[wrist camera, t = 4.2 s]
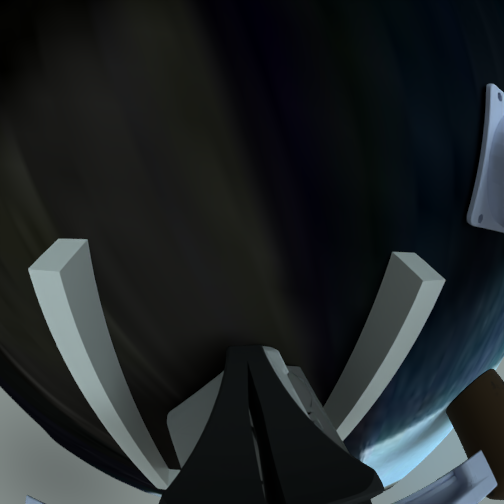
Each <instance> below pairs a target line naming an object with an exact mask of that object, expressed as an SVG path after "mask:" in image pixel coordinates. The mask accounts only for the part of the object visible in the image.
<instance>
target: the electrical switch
mask: <svg viewBox="0 0 504 504" xmlns="http://www.w3.org/2000/svg"><path fill="white" fill-rule="evenodd" d="M262 347H263V349H264V351H265V354H266V356H267V358H268V360H269V362H270V364H271V366H272V367H273V369H274V371H275V373H276V374H277V376H278V378H279V379H280V381H281V382H282V384H283V385H284V387H285V388H286V390H287V391H288V392H289V394H290V395H291V397H292V398H293V399H294V400H295V402H296V403H297V404H298V406H299V407H300V408H301V409H302V410H303V412H304V413H305V414H306V415H307V416H308V417H309V418H310V419H311V420H312V421H314V423H315V424H316V425H317V427H318V428H319V429H320V430H321V431H322V432H324V433H325V434H326V435H327V436H328V437H329V438H330V439H332V440H333V441H334V442H335V443H336V444H337V445H339V446H340V447H341V448H342V449H344V450H345V451H346V452H348V450H347V448H346V447H345V445H344V443H343V442H342V440H341V438H340V436H339V435H338V433H337V431H336V429H335V428H334V426H333V424H332V423H331V421H330V419H329V417H328V416H327V414H326V412H325V410H324V409H323V407H322V405H321V403H320V402H319V400H318V398H317V396H316V395H315V393H314V391H313V389H312V388H311V386H310V384H309V382H308V380H307V379H306V377H305V375H304V373H303V372H302V370H301V368H300V367H298V366H286V365H285V363H284V361H283V359H282V357H281V355H280V353H279V351H278V350H276V349H274V348H272V347H266V346H262ZM223 373H224V371H223V372H222V373H220V374H219V375H218V376H217V377H215V378H214V379H213V380H212V381H210V382H209V383H208V384H206V385H205V386H204V387H203V388H201V389H200V390H199V391H197V392H196V393H195V394H193V395H192V396H191V397H189V398H188V399H187V400H185V401H184V402H183V403H181V404H180V405H178V406H177V407H176V408H174V409H173V410H172V411H170V412H169V413H168V416H167V425H168V429H169V432H170V435H171V439H172V442H173V445H174V448H175V451H176V454H177V457H178V460H179V462H180V465H181V468H182V467H183V466H184V464H185V462H186V461H187V459H188V458H189V456H190V454H191V453H192V451H193V449H194V447H195V446H196V444H197V442H198V440H199V438H200V436H201V434H202V432H203V430H204V428H205V426H206V423H207V421H208V419H209V416H210V414H211V412H212V409H213V406H214V403H215V400H216V398H217V395H218V392H219V388H220V385H221V381H222V377H223ZM307 412H311V414H309V415H308V414H307ZM249 416H250V422H251V428H252V434H253V440H254V446H255V452H256V457H257V462H258V467H259V473H260V478H261V482H262V487H263V479H262V472H261V464H260V457H259V450H258V445H257V440H256V436H255V432H254V427H253V423H252V419H251V415H250V410H249ZM348 453H349V452H348ZM349 454H350V453H349ZM263 492H264V487H263ZM264 496H265V494H264Z"/></svg>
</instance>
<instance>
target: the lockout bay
mask: <svg viewBox="0 0 504 504" xmlns="http://www.w3.org/2000/svg"><path fill="white" fill-rule="evenodd" d="M28 270H29V273H30V277H31V280H32V283H33V286H34V289H35V292H36V295H37V298H38V301H39V303H40V306H41V309H42V311H43V314H44V316H45V319H46V321H47V324H48V326H49V328H50V331H51V333H52V335H53V338H54V340H55V342H56V344H57V346H58V348H59V350H60V352H61V355H62V357H63V359H64V360H65V362H66V364H67V366H68V368H69V370H70V372H71V374H72V376H73V377H74V379H75V381H76V383H77V384H78V386H79V388H80V389H81V391H82V393H83V394H84V396H85V398H86V399H87V401H88V402H89V404H90V406H91V407H92V409H93V410H94V412H95V413H96V415H97V416H98V418H99V419H100V420H101V422H102V423H103V425H104V426H105V428H106V429H107V430H108V432H109V433H110V434H111V436H112V437H113V438H114V440H115V441H116V442H117V443H118V445H119V446H120V447H121V448H122V450H123V451H124V452H125V453H126V455H127V456H128V457H129V458H130V459H131V460H132V462H133V463H134V464H135V465H136V466H137V467H138V468H139V470H140V471H141V472H142V473H143V474H144V475H145V476H146V477H147V478H148V479H149V480H150V481H151V482H152V483H153V484H154V485H155V486H156V487H157V488H158V489H167V488H168V487H169V485H170V484H171V483H172V481H173V480H174V479H175V477H176V476H177V475H178V473H179V472H180V470H173V469H169V468H168V467H167V465H166V463H165V462H164V460H163V458H162V456H161V455H160V453H159V451H158V449H157V447H156V446H155V444H154V442H153V440H152V438H151V436H150V434H149V432H148V430H147V428H146V426H145V424H144V422H143V420H142V418H141V416H140V413H139V411H138V409H137V407H136V404H135V402H134V400H133V398H132V395H131V393H130V390H129V388H128V386H127V383H126V380H125V378H124V375H123V373H122V370H121V367H120V365H119V362H118V359H117V356H116V353H115V350H114V347H113V344H112V341H111V338H110V335H109V331H108V328H107V325H106V321H105V318H104V314H103V310H102V307H101V303H100V299H99V295H98V291H97V286H96V282H95V277H94V272H93V267H92V262H91V257H90V251H89V245H88V240H86V239H58V240H57V241H56V242H55V243H54V244H53V245H52V246H51V247H50V248H49V249H47V250H46V251H45V252H44V253H43V254H42V255H41V256H40V257H39V258H38V259H37V260H36V261H35V262H34V264H33V265H32V266H31V267H30V268H29V269H28ZM444 283H445V279H444V278H443V277H442V276H441V275H440V274H438V273H437V272H436V271H435V270H434V269H433V268H432V267H431V266H429V265H428V264H427V263H426V262H425V261H424V260H423V259H421V258H420V257H419V256H418V255H417V254H416V253H407V252H392V254H391V257H390V260H389V263H388V266H387V269H386V272H385V275H384V278H383V280H382V283H381V286H380V289H379V291H378V294H377V296H376V299H375V302H374V304H373V307H372V309H371V312H370V314H369V316H368V319H367V321H366V323H365V326H364V328H363V330H362V333H361V335H360V337H359V339H358V341H357V344H356V346H355V348H354V350H353V352H352V354H351V356H350V358H349V360H348V362H347V364H346V366H345V368H344V370H343V372H342V374H341V376H340V378H339V380H338V382H337V384H336V386H335V387H334V389H333V391H332V393H331V395H330V396H329V398H328V400H327V402H326V403H325V405H324V407H323V409H324V410H325V412H326V414H327V416H328V417H329V419H330V421H331V423H332V424H333V426H334V428H335V429H336V431H337V433H338V435H339V436H340V438H341V440H342V441H343V440H344V439H345V438H346V437H347V436H348V434H349V433H350V432H351V431H352V430H353V429H354V428H355V426H356V425H357V424H358V423H359V422H360V420H361V419H362V418H363V417H364V415H365V414H366V413H367V412H368V410H369V409H370V408H371V407H372V405H373V404H374V403H375V401H376V400H377V399H378V397H379V396H380V395H381V393H382V392H383V390H384V389H385V388H386V386H387V385H388V383H389V382H390V380H391V379H392V377H393V376H394V374H395V373H396V371H397V370H398V368H399V367H400V365H401V364H402V362H403V361H404V359H405V357H406V356H407V354H408V352H409V351H410V349H411V347H412V346H413V344H414V342H415V340H416V339H417V337H418V335H419V333H420V332H421V330H422V328H423V326H424V324H425V322H426V320H427V318H428V316H429V314H430V313H431V311H432V308H433V306H434V304H435V302H436V300H437V298H438V296H439V294H440V292H441V289H442V287H443V285H444ZM314 424H315V423H314ZM315 425H316V424H315ZM316 426H317V425H316Z"/></svg>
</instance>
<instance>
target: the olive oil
mask: <svg viewBox="0 0 504 504" xmlns="http://www.w3.org/2000/svg"><path fill="white" fill-rule="evenodd" d="M446 413H447V415H448V417H449V419H450V421H451V423H452V425H453V427H454V429H455V431H456V433H457V435H458V437H459V439H460V441H461V444H462V446H463V448H464V450H465V453H466V455H467V457H468V459H469V458H470V457H472V456H473V455H474V454H476V453H477V452H478V451H480V450H481V451H482V453H483V455H484V457H485V459H486V461H487V463H488V465H489V467H490V469H491V471H492V473H493V475H494V477H495V480H496V482H497V486H496V487H495V488H494V489H493V490H492V491H491V492H490V493H489V494H488V495H487V496H486V497H488V498H489V499H494V500H504V382H503V380H502V379H501V377H500V376H499V375H498V374H497V372H496V371H495V370H494V369H490V370H488V371H486V372H485V373H484V374H482V375H481V376H480V377H478V378H477V379H476V380H475V381H474V382H472V383H471V384H470V385H469V386H468V387H467V388H466V389H465V390H464V391H463V392H462V393H461V394H460V395H459V396H458V397H457V398H456V399H455V400H454V401H453V402H452V403H451V404H450V405H449V407H448V408H447V410H446Z"/></svg>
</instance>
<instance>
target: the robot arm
mask: <svg viewBox="0 0 504 504" xmlns="http://www.w3.org/2000/svg"><path fill="white" fill-rule="evenodd" d="M467 222H468V223H469V224H471V225H472V226H475V227H480V228H485V229H489V230H494V231H498V232H503V233H504V93H503V92H502V91H501V90H500V89H499V88H498V87H497V86H496V85H494V84H488V85H487V87H486V107H485V121H484V131H483V139H482V147H481V153H480V160H479V165H478V171H477V176H476V180H475V185H474V189H473V194H472V198H471V202H470V205H469V209H468V213H467ZM249 410H250V415H251V419H252V423H253V427H254V432H255V436H256V440H257V445H258V450H259V457H260V464H261V472H262V479H263V487H264V492H263V487H262V482H261V478H260V473H259V467H258V462H257V457H256V452H255V446H254V440H253V434H252V428H251V422H250V416H249ZM496 486H497V482H496V480H495V477H494V475H493V473H492V471H491V469H490V467H489V465H488V463H487V461H486V459H485V457H484V455H483V453H482V451H481V450H480V451H478V452H477V453H476V454H474V455H473V456H472V457H470V458H469V459H468V460H466V461H465V462H463V463H462V464H461V465H459V466H458V467H456V468H455V469H453V470H452V471H450V472H449V473H447V474H446V475H444V476H442V477H441V478H439V479H437V480H436V481H435V482H433V483H431V484H430V485H428V486H426V487H424V488H422V489H421V490H419V491H417V492H415V493H413V494H411V495H409V496H407V497H405V498H403V499H401V500H399V501H397V502H395V503H393V504H478V503H479V502H480V501H481V500H482V499H483V498H484V497H485V496H487V495H488V494H489V493H490V492H491V491H492V490H493V489H494V488H495V487H496ZM383 491H384V487H383V484H382V482H381V480H380V478H379V476H378V475H377V473H376V471H375V470H374V469H372V468H371V467H369V466H367V465H366V464H364V463H362V462H361V461H359V460H358V459H356V458H355V457H353V456H352V455H351V454H349V453H348V452H346V451H345V450H344V449H342V448H341V447H340V446H339V445H337V444H336V443H335V442H334V441H333V440H332V439H330V438H329V437H328V436H327V435H326V434H325V433H324V432H322V431H321V430H320V429H319V428H318V427H317V426H316V425H315V424H314V423H313V422H312V420H311V419H310V418H309V417H308V416H307V415H306V414H305V413H304V412H303V410H302V409H301V408H300V407H299V406H298V404H297V403H296V402H295V400H294V399H293V398H292V397H291V395H290V394H289V392H288V391H287V390H286V388H285V387H284V385H283V384H282V382H281V381H280V379H279V378H278V376H277V374H276V373H275V371H274V369H273V367H272V366H271V364H270V362H269V360H268V358H267V356H266V354H265V351H264V349H263V347H262V346H261V345H249V346H231V347H228V348H227V349H226V363H225V368H224V373H223V377H222V381H221V385H220V388H219V392H218V395H217V398H216V400H215V403H214V406H213V409H212V412H211V414H210V416H209V419H208V421H207V423H206V426H205V428H204V430H203V432H202V434H201V436H200V438H199V440H198V442H197V444H196V446H195V447H194V449H193V451H192V453H191V454H190V456H189V458H188V459H187V461H186V462H185V464H184V466H183V467H182V469H181V470H180V472H179V473H178V475H177V476H176V477H175V479H174V480H173V481H172V483H171V484H170V485H169V487H168V488H167V489H166V490H165V492H164V493H163V494H162V497H161V499H160V502H159V504H372V503H371V498H373V497H375V496H377V495H379V494H381V493H383ZM264 494H265V496H264ZM26 504H45V503H43V502H41V501H39V500H37V499H35V498H33V497H31V496H29V495H27V496H26Z"/></svg>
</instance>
